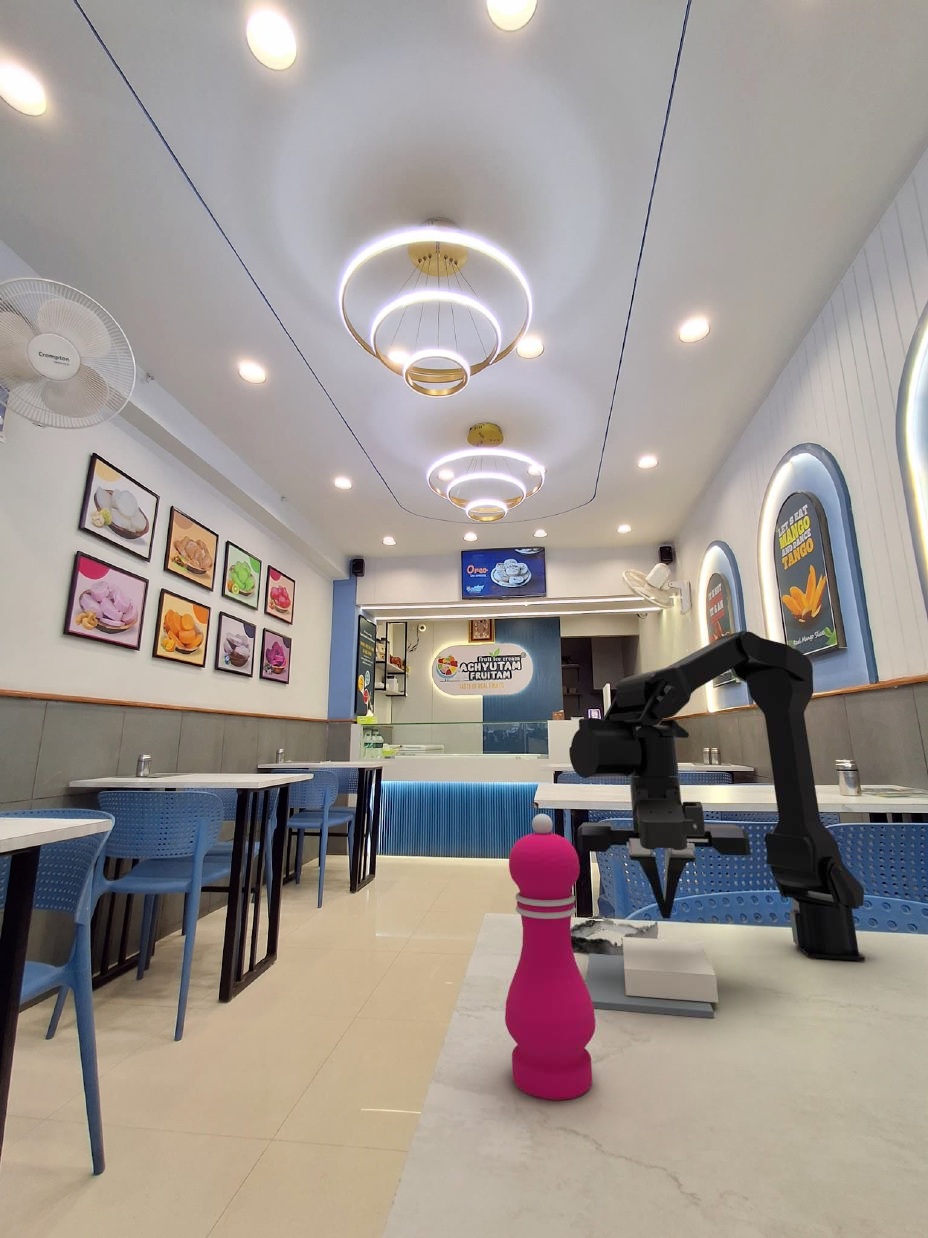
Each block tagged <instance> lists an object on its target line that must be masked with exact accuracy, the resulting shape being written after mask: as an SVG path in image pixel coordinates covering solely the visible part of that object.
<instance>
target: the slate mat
mask: <svg viewBox="0 0 928 1238" xmlns="http://www.w3.org/2000/svg"><path fill="white" fill-rule="evenodd" d="M586 970H587V971H586V977H585V984H586V987H587V989H588V991H589V994H590V997H591V1000H592V1003H593V1008H594V1009H601V1010H609V1011H610V1010H613V1011H622V1012H623V1011H625V1012H636V1013H647V1014H648V1013H649V1014H657V1015H658V1014H659V1015H660V1014H661V1015H671V1016H682V1017H683V1016H684V1017H695V1018H704V1019H705V1018H706V1019H715V1015H714V1014H715V1013H714V1009H713V1007H712V1005H711V1002H705V1001H692V1000H680V999H667V998H655V997H642V996H630V995H626V987H625V972H624V955H622V956H621V955H606V954H590V953H589V954H588V963H587V969H586Z"/></svg>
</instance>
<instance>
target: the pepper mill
mask: <svg viewBox="0 0 928 1238" xmlns="http://www.w3.org/2000/svg"><path fill="white" fill-rule="evenodd" d="M553 825H554V824H553V821H552V818H551V817H550V816H549V815H547V814H545V813H539V814H537V815H535V816H534V818H533V819H532V822H531V826H532V829H533V831H534V832H532V833H529V834H526V835H524V836H522V837H521V838H519V839H518V840H517V841H516V842H515V843H514V845H513V846H512V849H511V850H510V853H509V859H508V869H509V870H508V871H509V874H510V877H511V879H512V881H513V882H514V884H516V886H517V887H518V890H519V892H517V893H516V894H515V900H516V906H515V912H517V913H518V914H519V915H520V919H521V925H522V944H521V945H522V946H521V949H520V950H521V952H520V955H519V960H518V963H517V965H516V969H515V972H514V974H513V977H512V980H511V982H510V985H509V988H508V991H507V992H508V993H507V997H506V1000H505V1011H504V1012H505V1015H504V1017H505V1018H504V1023H505V1027H506V1028H507V1032H508V1033H509V1035H510V1037H511V1038H512V1039H513V1040H514V1042H515V1043H516V1046H515V1047H514V1048H513V1050H512V1053H511V1067H512V1068H511V1069H512V1070H511V1071H512V1080H513V1082H514V1083H515V1085H516V1087H517V1088H518V1089H519V1090H521V1091H522V1092H524V1093H526V1094H527V1095H530V1096H533V1097H535V1098H539V1099H544V1100H552V1101H553V1100H554V1101H557V1100H558V1101H564V1100H568V1099H569V1100H570V1099H575V1098H577V1097H580V1096H583V1095H585V1094H586V1093H587V1092H588V1091H589V1090H590V1089H591V1086H592V1084H593V1067H592V1057H591V1054H590V1052H589V1051H588V1049H586V1047H587V1045H588V1044H589V1043H590V1041H591V1040H592V1038H593V1036H594V1034H595V1032H596V1017H595V1008H593V1003H592V1000H591V997H590V994H589V991H588V989H587V987H586V981H585V980H584V979H583V976H582V974H581V972H580V969H579V966H578V963H577V961H576V958H575V954H574V951H573V950H572V943H571V933H570V928H571V926H572V925H571V923H572V921H571V920H572V916H573V915H574V914H575V913H576V912H577V909H576V906H575V903H574V902H575V901H576V896H575V894H573V893H572V892H571V891H572V888H573V887H574V885H575V884H576V883H577V881H578V879H579V875H580V867H581V866H580V860H579V856H578V853H577V850H576V849H575V847H574V846H573V844H572V843H571V842H570V841H569V840H568V839H566V838H565V837H563V836H561V835H559V834H557V833H554V832H553V833H552V829H553Z"/></svg>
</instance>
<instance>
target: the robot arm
mask: <svg viewBox="0 0 928 1238" xmlns="http://www.w3.org/2000/svg"><path fill="white" fill-rule="evenodd" d="M728 671H731V673H732V676H734V678H736V679H739V680H740V681H741V682H743V683H746V686H747V689H748V692H749V696H750V698H751V700H752V701H753V702H754V703H755V705H756V706H757V707H758V708H759V710H760V711H761V712H762V714H763V716H764V722H765V730H766V735H767V742H768V750H769V757H770V765H771V773H772V780H773V781H772V782H773V787H774V794H775V801H776V808H777V810H776V811H777V816H778V817H777V818H778V819H777V823H776V825H775V826H774V829H773V830H772V832H771V833H770V832H766V833H765V835H764V838H763V839H764V845H765V848H766V863H765V864H766V865H769V868H770V872H771V874H772V876H773V879H774V880H775V884H776V886H777V889H778V891H779V893H780V896H781V897H783V898H790V899H792V906H793V909H790V910H789V917H790V918H789V919H790V924H791V933H792V941H793V943H794V944H795V945H796V947H798V949H799V950H800V951H801V952H802V953H803V954H804V955H806V956H807V957H809V958H812V959H813V958H817V959H832V960H847V961H848V960H849V961H865V960H866V959H865V955H863V953H862V952H860V951H859V946H858V945H859V944H858V939H857V933H856V932H857V931H856V927H855V920H854V915H853V914H854V913H853V910H857V909H858V910H859V909H860V907H863V906H864V900H865V898H864V897H865V889H864V887H863V886H862V885H861V883H860V882H859V881H858V879H856V878H855V876H854V875H853V874H852V872H850V870H849V869H848V868H847V866H846V865H845V864H844V862H843V858H842V856H841V852H840V848H839V844H838V841H836V839H835V837H834V836H833V835H832V834H831V833H830V831H829V830H828V829H827V827H826V826H825V825H824V823H823V822H822V821H821V816H820V811H819V803H818V798H817V797H818V796H817V791H816V790H817V789H816V784H815V777H814V771H813V763H812V758H811V756H812V755H811V752H810V751H811V750H810V745H809V738H808V737H809V736H808V731H807V725H806V719H805V711H806V709H807V707H808V705H809V703H810V700H812V696H813V694H814V675H813V674H814V667H813V664H812V662H811V660H810V658H808V657H807V656H806V655H805V654H803V653H802V652H801V651H800V650H798V649H796V648H793V647H792V646H790V645H788V644H786V643H782V642H779V641H776V640H771V639H766V638H763V637H761V636H759V635H758V634H756V633H754V632H753V631H749V630H748V631H747V630H741V631H738V632H733V633H728V634H725V635H721V636H719V637H718V638H717V639H715V640H714V641H713V642H711V643H710V644H707V645H705V646H704V647H702V648H700V649H698V650H696V651H694V652H692V653H690V654H689V655H687V656H685V657H684V658H681V659H679V660H677V661H676V662H674V663H672V664H670V665H668V666H666V667H664V668H663V667H662V668H659V669H656V670H655V669H654V670H652V671H648V672H643V673H638V674H635V675H632V676H628V677H625V678H623V679H621V680H620V681H619V682H618V683H617V684H616V685H615V686H616V687H615V688H616V691H615V696H614V698H613V700H612V701H611V704H610V706H609V708H608V709H607V710H606V713H605V715H604V717H603V718H602V719H601V718H598V717H587V718H586V717H585V718H579V720H578V730H577V731H576V732H575V733H574V735H573V737H572V740H571V743H570V744H571V745H570V746H569V753H568V754H569V760H570V763H571V767H572V768H573V771H574V772H575V773H576V775H578V777H581V778H583V779H601V778H605V779H606V778H609V779H611V778H627V777H629V786H630V787H629V788H630V789H629V790H630V802H631V812H632V813H631V814H632V825H633V826H632V827H633V829H626V828H625V829H622V828H621V829H619V828H612V822H582V824H581V825H579V827H578V829H577V848H578V849H577V851H578V852H586V853H587V852H591V853H592V852H593V853H594V852H595V853H606V852H607V851H608V850H609V849H610V848H611V847H612V846H626V848H627V849H628V850H627V856H628V860H630V861H633V862H634V861H636V862H638V863H639V865H640V867H641V868H642V871H643V872H644V874H645V876H646V878H647V881H648V882H649V886H650V889H651V890H652V893H653V895H654V899H655V901H656V904H657V907H658V909H659V913H660V914H661V917H662V919H665V920H666V919H667V920H670V919H671V915H672V912H673V911H672V910H673V907H674V902H675V898H676V892H677V889H678V885H679V882H680V879H681V876H682V874H683V871H684V870H685V868H686V865H687V864H688V863H695V862H697V857H696V856H695V854H694V851H695V850H696V849H695V848H713V849H714V850H716V852H717V853H719V854H720V855H721V856H751V855H752V854H751V846H750V837H749V835H748V833H747V832H746V830H744V829H743V828H742V827H741V826H738V825H736V824H728V823H726V824H724V823H723V824H722V823H721V824H720V823H718V824H716V823H714V824H713V823H705V817H704V816H705V815H704V808H703V805H702V803H701V801H683V802H682V796H681V793H682V792H681V785H680V774H679V773H680V772H679V764H678V763H679V762H678V754H677V753H678V751H677V741H676V739H677V740H679V739H688V738H689V737H690V734H689V731H687V730H686V729H685V728H684V727H682V726H681V725H679V724H678V722H677V720H676V719H673V718H672V717H675V716H676V715H677V714H678V713H679V712H680V711H682V709H683V708H684V707H685V706H687V704H688V703H689V702H690V700H691V695H692V694H693V693H694V692H695V691H696V690H697V689H700V687H703V686H705V685H706V684H707V683H709V682H711V681H712V680H715V679H716V678H718V677H719V676H721V675H723V674H724V673H726V672H728ZM670 718H672V719H670ZM637 728H638V729H637ZM656 849H665V850H664V881H663V882H664V887H663V888H664V889H662V884H661V879H660V874H659V870H658V869H659V868H658V863H657V857H656V855H655V852H654V850H656Z"/></svg>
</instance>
